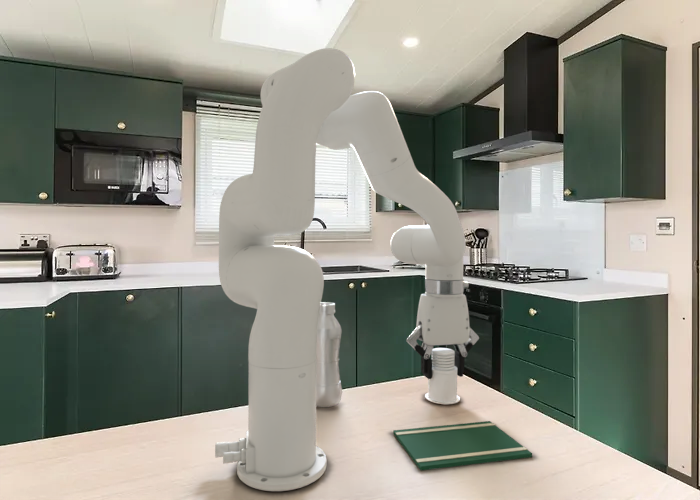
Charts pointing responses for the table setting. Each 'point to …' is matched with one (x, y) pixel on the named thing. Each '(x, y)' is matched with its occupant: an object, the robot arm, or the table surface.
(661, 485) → the table surface
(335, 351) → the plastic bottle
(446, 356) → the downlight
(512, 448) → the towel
